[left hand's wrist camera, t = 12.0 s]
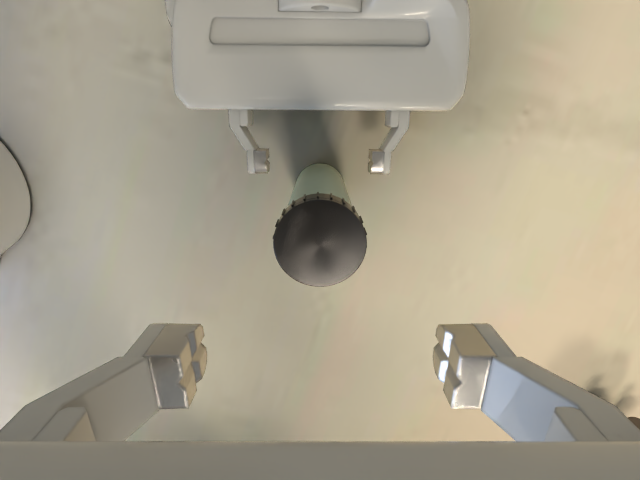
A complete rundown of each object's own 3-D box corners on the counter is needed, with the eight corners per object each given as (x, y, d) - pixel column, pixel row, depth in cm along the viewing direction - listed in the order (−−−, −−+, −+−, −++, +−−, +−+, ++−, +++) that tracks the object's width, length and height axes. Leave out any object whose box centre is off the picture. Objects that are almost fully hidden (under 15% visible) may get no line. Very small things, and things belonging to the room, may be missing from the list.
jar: (335, 156, 31) (347, 190, 18) (350, 202, 33) (371, 266, 19) (288, 172, 32) (265, 217, 18) (305, 217, 33) (295, 289, 20)
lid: (349, 178, 19) (351, 184, 17) (374, 260, 20) (379, 272, 19) (261, 208, 19) (257, 216, 18) (294, 285, 21) (292, 298, 19)
